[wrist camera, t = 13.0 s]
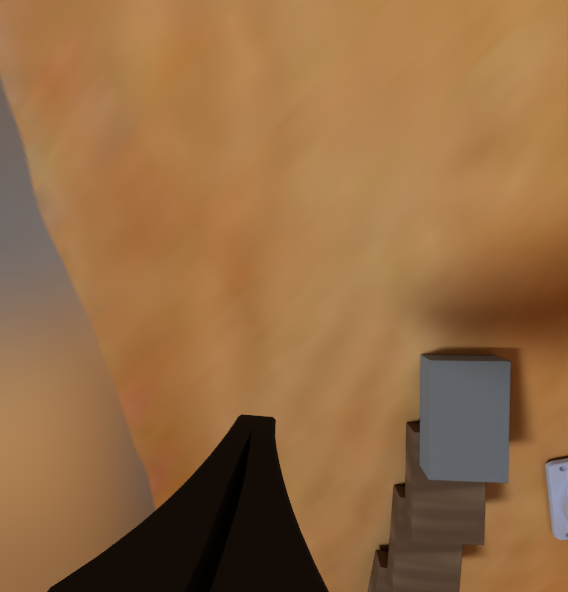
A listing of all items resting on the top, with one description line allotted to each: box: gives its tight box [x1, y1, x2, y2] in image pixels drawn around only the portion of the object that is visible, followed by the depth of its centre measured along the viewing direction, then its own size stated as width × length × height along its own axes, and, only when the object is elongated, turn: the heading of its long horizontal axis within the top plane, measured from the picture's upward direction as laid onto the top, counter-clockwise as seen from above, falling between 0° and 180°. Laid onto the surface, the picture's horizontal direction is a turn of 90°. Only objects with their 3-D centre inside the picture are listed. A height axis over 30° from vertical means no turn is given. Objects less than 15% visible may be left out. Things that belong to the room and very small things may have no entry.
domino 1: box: [405, 422, 486, 545], centre depth 22 cm, size 2×5×8 cm
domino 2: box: [386, 485, 463, 592], centre depth 24 cm, size 2×5×8 cm
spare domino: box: [420, 355, 511, 483], centre depth 20 cm, size 2×5×8 cm
